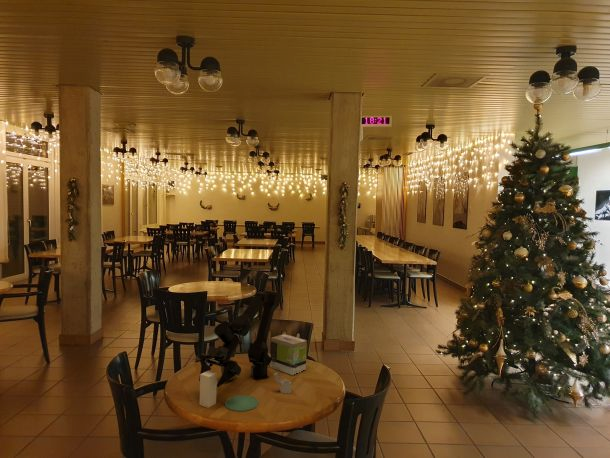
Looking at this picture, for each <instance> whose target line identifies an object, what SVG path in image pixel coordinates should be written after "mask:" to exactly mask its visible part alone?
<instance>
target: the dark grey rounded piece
mask: <svg viewBox="0 0 610 458" xmlns="http://www.w3.org/2000/svg"><path fill="white" fill-rule="evenodd" d="M230 361H232V362H236V363H237V364H238V360H235V359H233V358H231V359H230ZM223 371H224V368H223V367H220V372H221V375H222V374H223ZM233 379H234V377H232V378H231V379H229V380H228V381H227V382H229V381H232V380H233Z"/></svg>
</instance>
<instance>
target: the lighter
mask: <svg viewBox="0 0 610 458" xmlns="http://www.w3.org/2000/svg"><path fill="white" fill-rule="evenodd" d="M273 376H274V378H275V380H276V383H277V384H280V393H281V394H291V393H292V392H291V389H292V382H291V381H290V380H289V379H283V380H282V379H281V376H280V374H279V372H274V374H273Z"/></svg>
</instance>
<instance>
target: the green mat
mask: <svg viewBox="0 0 610 458" xmlns="http://www.w3.org/2000/svg"><path fill="white" fill-rule="evenodd" d="M259 402H260V401H259V400H258V399H257V398H256V397H254V396H251V395H244V394H241V395H234V396H231V397H229V398H227V399H225V401H224V406H225V407H226V409H228V410H230V411H233V412H248V411H252V410H254V409H256V408H257V407H258V406H259V404H260V403H259Z"/></svg>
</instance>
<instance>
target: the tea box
mask: <svg viewBox="0 0 610 458" xmlns="http://www.w3.org/2000/svg"><path fill="white" fill-rule="evenodd" d="M307 348H308V340H307V339H304V338H300V337H296V336H293V335H290V334H285V333H284V334H280V335H279V334H278V335H276V336H273V337H271V338H270V358H271V363H270V364H269V366H270V368H271V369H275V370H277V371H280V372H283V373H286V374H288V375H291V376H294V374H295V375H297V374H296V373H298V374H300V373H302V372H301V371H303V370H305V371H306V370H307V352H308V351H307ZM299 372H300V373H299ZM303 372H304V371H303Z"/></svg>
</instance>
